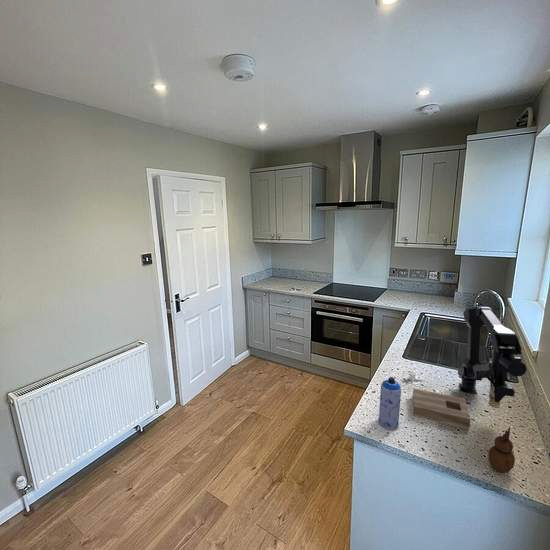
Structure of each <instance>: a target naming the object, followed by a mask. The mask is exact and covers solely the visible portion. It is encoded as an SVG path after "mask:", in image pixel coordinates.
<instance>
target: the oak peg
mask: <svg viewBox="0 0 550 550" xmlns="http://www.w3.org/2000/svg"><path fill="white" fill-rule="evenodd" d="M492 383H494V382H492ZM492 383H491V384H490V385H492ZM488 397H489V401H488V406H490V407H491V408H495V409H499V408H500V405H501V401H502V400H503V398H502V399H501V400H500V401H499V402H495V398H494V392H493V390H492V388H491V386H490V388H489V394H488Z"/></svg>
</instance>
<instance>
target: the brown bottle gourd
mask: <svg viewBox="0 0 550 550" xmlns="http://www.w3.org/2000/svg"><path fill="white" fill-rule="evenodd" d="M510 434H511V427H508V429H505V432H504V433H503V434H502V435H498V436H496V437H495V438H494V441H493V444H494V445H492V446H490V447H489V450H488V454H487V455H488V456H487V457H488V462H489V464H490V467H491V468H492V469H494V470H495V472H499V473H501V474H507V473H509V472H511V471H512V470H513V468H514V466H515V459H516V457H515V454H514V452H513V449H514V445H513V441H512V440H511V439H510Z"/></svg>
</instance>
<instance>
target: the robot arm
mask: <svg viewBox="0 0 550 550" xmlns="http://www.w3.org/2000/svg"><path fill="white" fill-rule="evenodd" d="M462 315H463V318H464V319H463V321H464V322H465V324H466V326H467V327H468V328H467V343H466V344H467V348H466V354H467V355H466V358H464V360H463V361H462V363H461V367H460V368H458V369H457V375H458V376H459V378H460V379H461V382H460V383H458V384H459V388H460V389H459V390H460V391H461V392H465V393H469V394H475V395H478V391H477V388H476V386H477V381H479V382H480V381H482V380H483V379H487V380H488V381H489V383H490V384H489V386H490V387H491V388H492V390H493V392H494V398H495V402H499V401H500V400H501V399H502V400H503V399H504V398H505V397H507V396H508V397H515V394H516V390H515V388H514V387H513V386H512V385H511V384H510V381H511V379H510V377H509V375H510V376H513V377H521V376H524V375H525V374H526V372H527V366H526V364H525V363H524V362H523V361H522V358H521V357H520V356H518V355H522V354H523V353H522V350H523V348H522V347H521V342H520V341H519V337H518V335H517V334H516V333H515V332H514V331H513V330H512V329H510V328H508V327H506V326H504V325H503V324H502V323H501V322H500V320H499V319H498V317H497V316H496V315H495V313H494V312H493V309H492V308H491V307H489V306H478V307H474V308H466V310H464V311H463V314H462ZM484 326H485V327H486V328H487V330H488V331H489V332H490V336H489V338H490V340H491V348H492V357H491V360H489V361H488V364H482V362H481V361H480V354H481V353H480V351H481V349H480V348H481V332H482V331H481V329H482V328H483V327H484ZM492 382H494V383H492ZM506 382H509V383H506ZM491 383H492V385H491ZM502 400H501V401H502ZM501 401H500V402H501Z"/></svg>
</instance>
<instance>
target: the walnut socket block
mask: <svg viewBox="0 0 550 550" xmlns="http://www.w3.org/2000/svg"><path fill="white" fill-rule="evenodd" d="M412 416H413V417H417V418H421V419H424V420H429V421H433V422H437V423H442V424H445V425H450V426H454V427H456V428H457V427H458V428H461V429H466V430H470V427H471V426H470V425H471V416H470V413H469V409H468V405H467V402H466V399H465V398H463V397H457V396H452V395H447V394H443V393H438V392H433V391H429V390H423V389H420V388H414V387H413V390H412Z"/></svg>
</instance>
